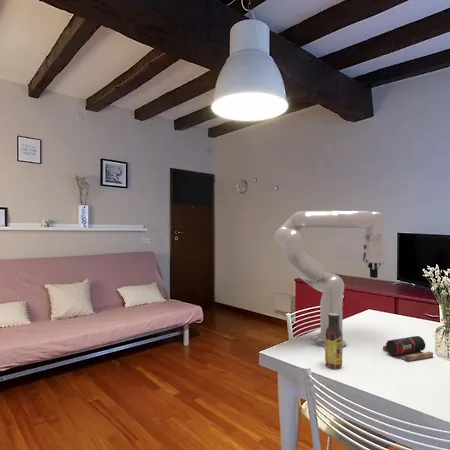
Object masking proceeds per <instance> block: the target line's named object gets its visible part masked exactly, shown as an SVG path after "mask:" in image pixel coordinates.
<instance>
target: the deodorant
mask: <svg viewBox="0 0 450 450" xmlns="http://www.w3.org/2000/svg"><path fill="white" fill-rule="evenodd" d="M385 346H386V348H387V351H388V352H389V353H388V354H390V356H393V357H395V356H394V355H400V354H406V353H411V352H417V351H421V352H423V351H424V350H425V348H426V342H425V339H423V338H422V337H421V336H419V335H416V336H415V335H414V336H408V337H402V338H396V339H389V340H387V341H386V343H385Z"/></svg>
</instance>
